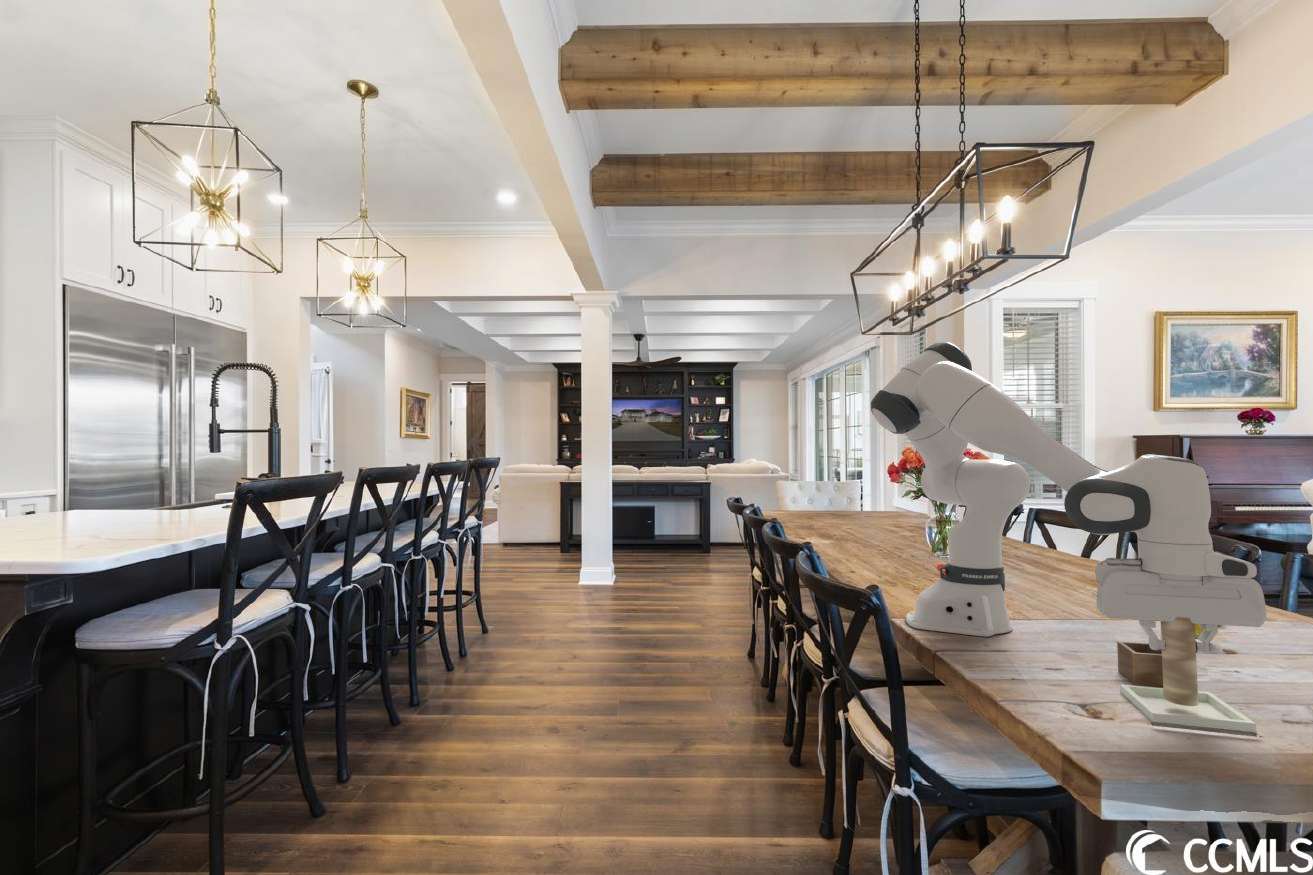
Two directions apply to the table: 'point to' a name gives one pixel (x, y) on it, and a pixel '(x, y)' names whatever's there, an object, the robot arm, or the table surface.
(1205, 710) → the tray
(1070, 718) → the table surface
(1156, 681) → the open wooden box
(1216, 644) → the table surface
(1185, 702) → the dowel
